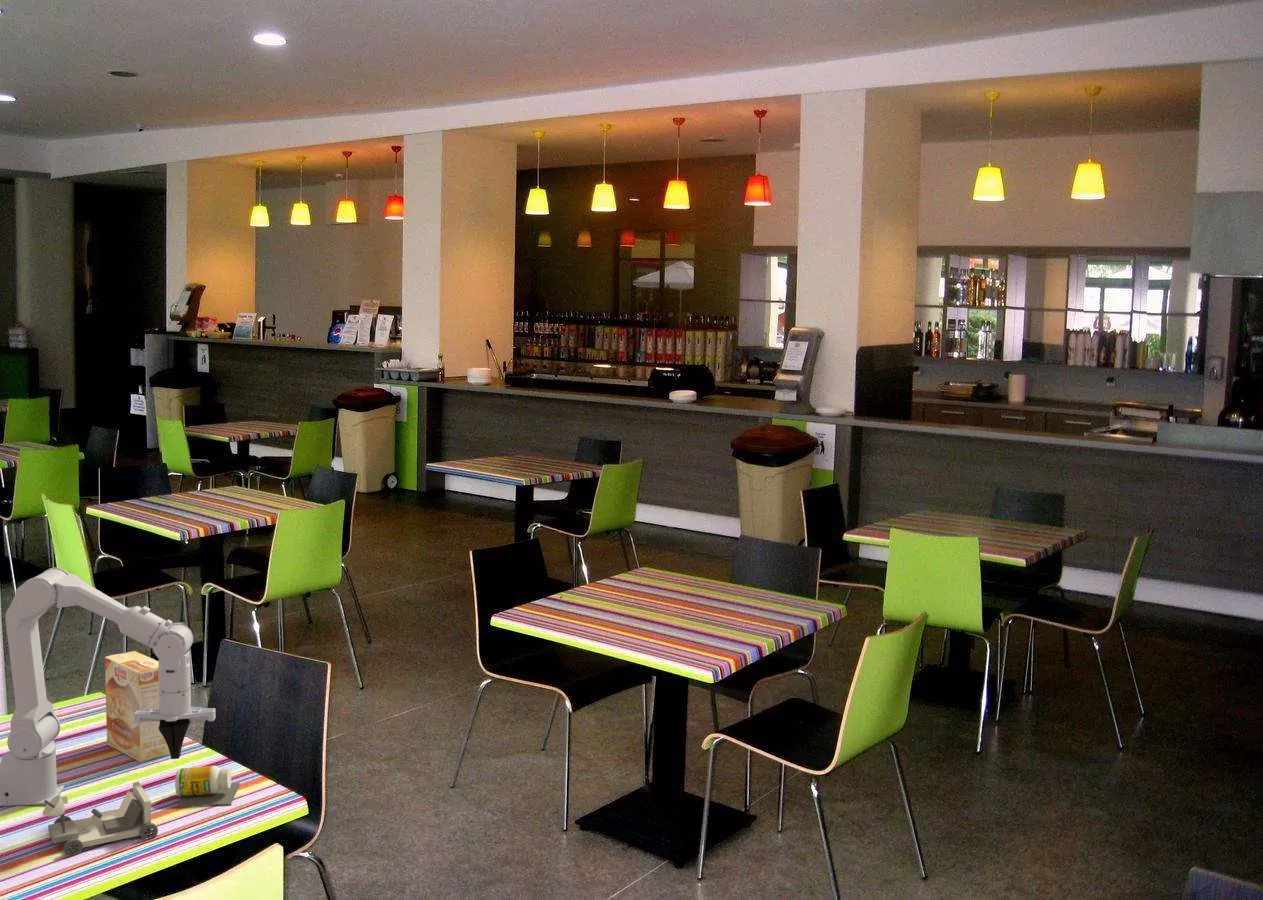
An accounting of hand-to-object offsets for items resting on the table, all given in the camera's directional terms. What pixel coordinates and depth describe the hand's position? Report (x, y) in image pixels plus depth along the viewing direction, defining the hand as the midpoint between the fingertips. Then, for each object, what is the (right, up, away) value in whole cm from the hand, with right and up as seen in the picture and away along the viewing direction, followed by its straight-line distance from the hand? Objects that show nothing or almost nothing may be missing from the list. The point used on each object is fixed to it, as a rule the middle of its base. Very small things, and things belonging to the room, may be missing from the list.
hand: (175, 757), depth 228 cm
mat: (+6, -8, +2) cm, 10 cm away
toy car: (-8, -10, -16) cm, 21 cm away
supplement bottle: (0, -5, +1) cm, 5 cm away
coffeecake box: (-17, -5, +24) cm, 30 cm away
